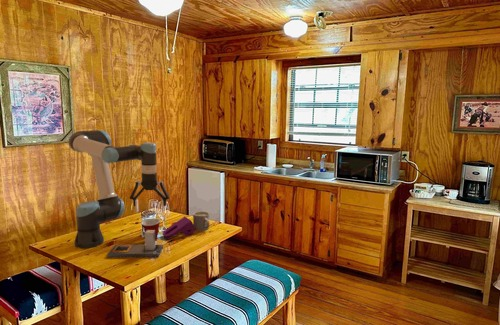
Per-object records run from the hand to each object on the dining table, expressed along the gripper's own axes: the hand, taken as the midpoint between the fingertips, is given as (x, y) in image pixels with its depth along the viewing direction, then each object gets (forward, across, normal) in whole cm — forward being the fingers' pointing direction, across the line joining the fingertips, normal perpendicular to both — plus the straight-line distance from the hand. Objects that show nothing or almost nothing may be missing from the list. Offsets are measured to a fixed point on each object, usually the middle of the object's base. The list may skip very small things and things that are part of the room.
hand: (150, 211), depth 182 cm
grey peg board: (+23, -8, 0) cm, 24 cm away
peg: (+23, 0, 0) cm, 23 cm away
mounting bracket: (+23, +11, +25) cm, 36 cm away
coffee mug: (+23, +25, +35) cm, 49 cm away
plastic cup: (+23, -4, +16) cm, 28 cm away
